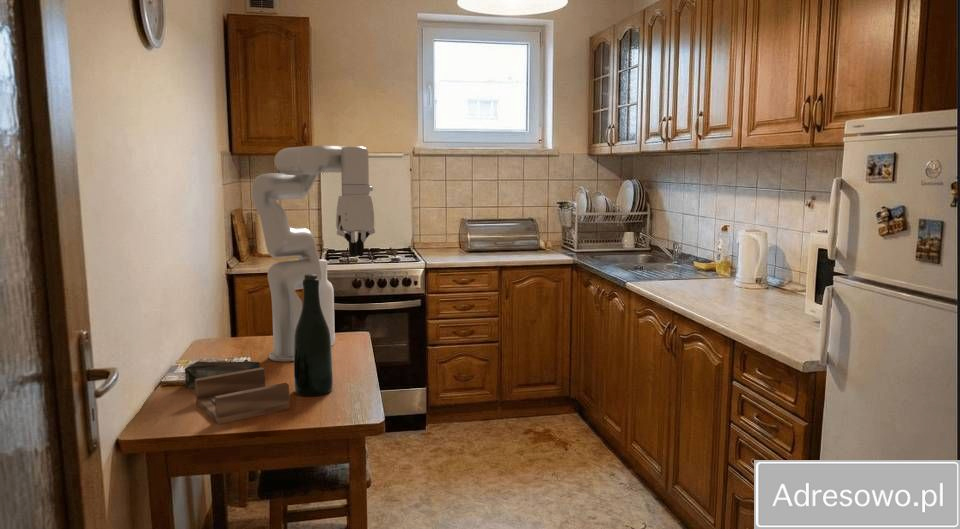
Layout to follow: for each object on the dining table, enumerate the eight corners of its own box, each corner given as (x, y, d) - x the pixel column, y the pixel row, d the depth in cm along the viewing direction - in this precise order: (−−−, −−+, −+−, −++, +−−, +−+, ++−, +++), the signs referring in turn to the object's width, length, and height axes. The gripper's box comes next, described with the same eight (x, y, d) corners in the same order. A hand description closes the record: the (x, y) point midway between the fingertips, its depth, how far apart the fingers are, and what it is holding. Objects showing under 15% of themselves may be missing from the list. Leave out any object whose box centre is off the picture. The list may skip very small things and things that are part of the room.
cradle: (195, 402, 181) (194, 379, 181) (262, 389, 192) (261, 367, 191) (218, 424, 167) (217, 398, 166) (289, 408, 178) (288, 384, 177)
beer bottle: (309, 383, 198) (306, 270, 194) (340, 387, 195) (337, 272, 190) (286, 394, 189) (282, 276, 184) (318, 399, 185) (315, 278, 180)
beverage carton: (197, 380, 201) (196, 358, 200) (262, 381, 201) (261, 359, 200) (184, 388, 193) (183, 366, 192) (251, 390, 193) (251, 367, 192)
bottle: (329, 348, 237) (327, 261, 232) (308, 346, 238) (305, 261, 234) (338, 342, 244) (336, 258, 240) (318, 340, 246) (315, 258, 242)
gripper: (373, 190, 200) (374, 252, 202) (323, 190, 190) (325, 256, 193) (386, 190, 194) (386, 255, 197) (336, 191, 185) (337, 259, 187)
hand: (356, 255), depth 195 cm, fingers closed
